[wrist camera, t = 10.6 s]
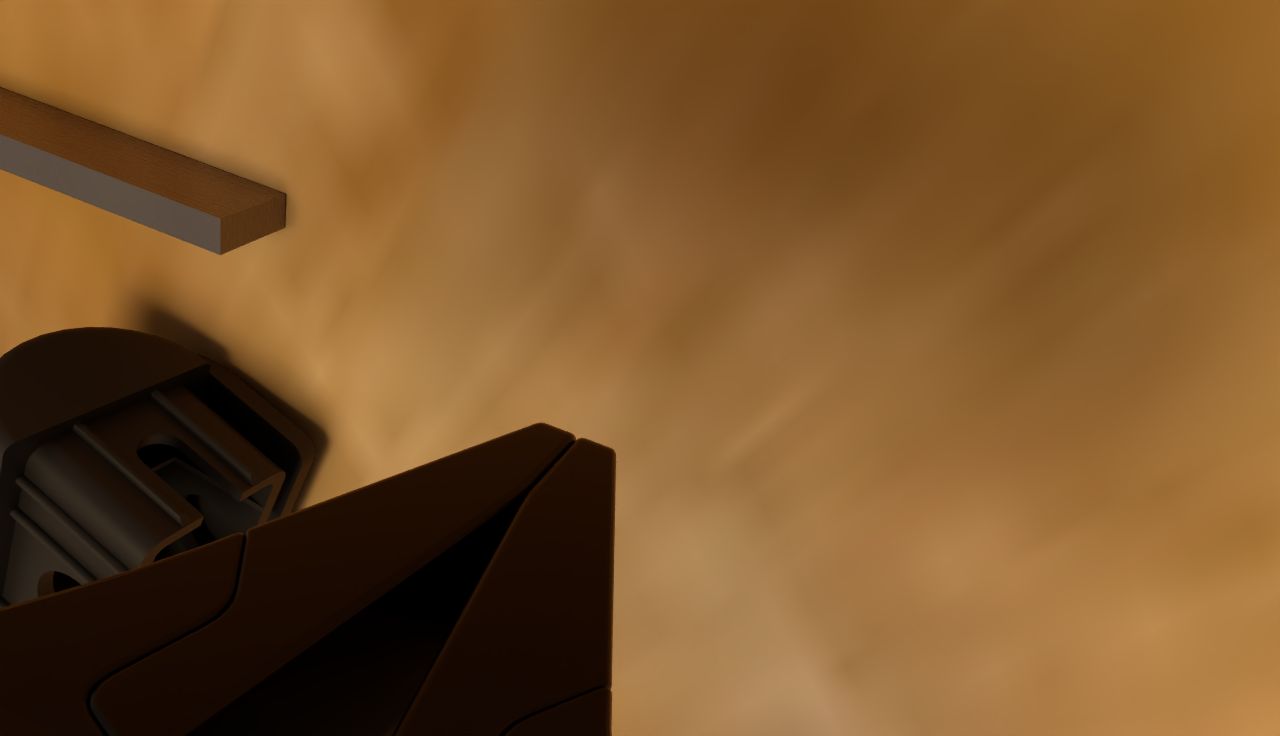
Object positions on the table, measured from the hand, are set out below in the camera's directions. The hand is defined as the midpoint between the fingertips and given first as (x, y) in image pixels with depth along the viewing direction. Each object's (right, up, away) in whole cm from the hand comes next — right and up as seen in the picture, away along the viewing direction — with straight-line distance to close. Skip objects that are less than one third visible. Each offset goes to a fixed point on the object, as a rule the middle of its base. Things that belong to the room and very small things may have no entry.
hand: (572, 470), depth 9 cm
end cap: (-14, -2, +20) cm, 25 cm away
